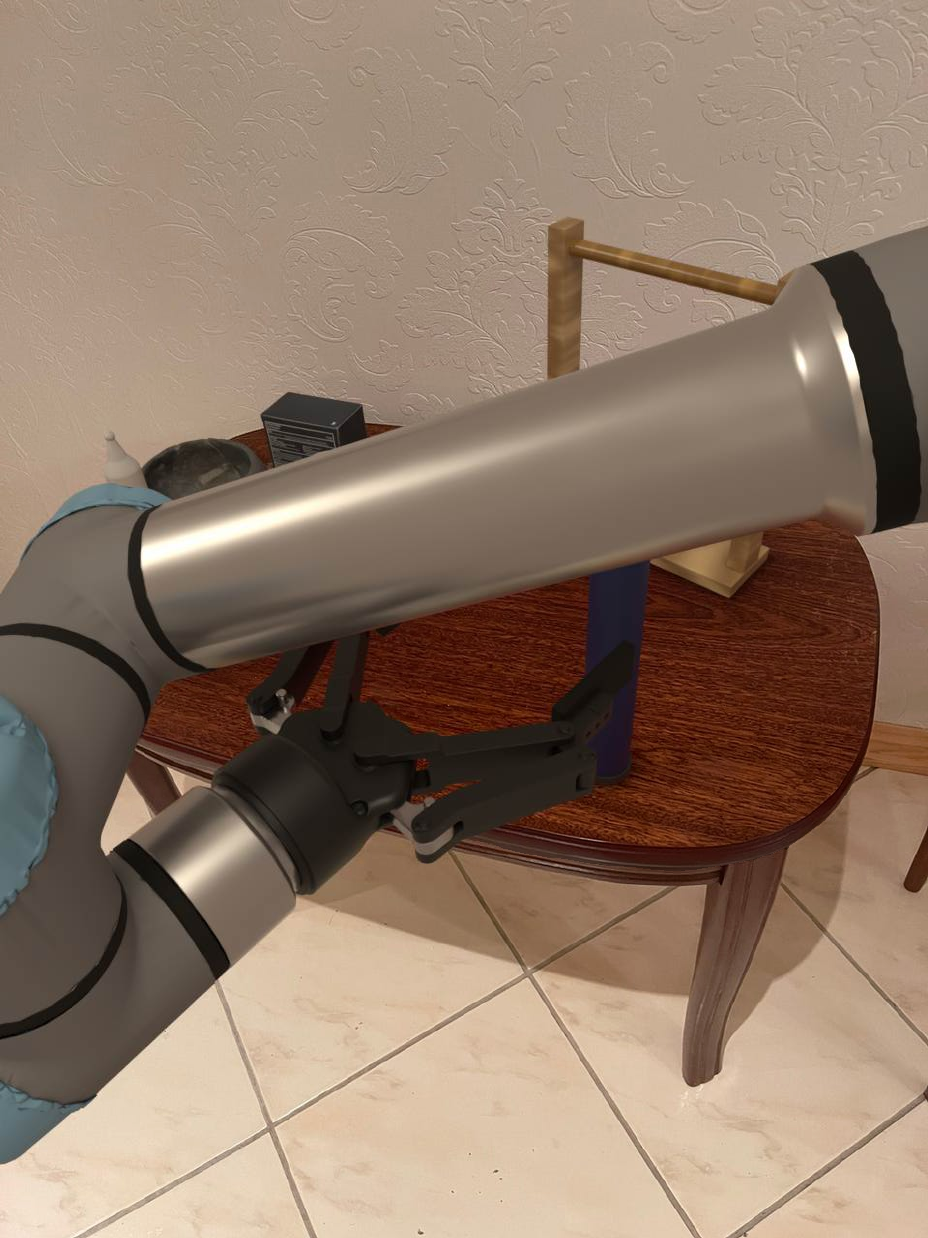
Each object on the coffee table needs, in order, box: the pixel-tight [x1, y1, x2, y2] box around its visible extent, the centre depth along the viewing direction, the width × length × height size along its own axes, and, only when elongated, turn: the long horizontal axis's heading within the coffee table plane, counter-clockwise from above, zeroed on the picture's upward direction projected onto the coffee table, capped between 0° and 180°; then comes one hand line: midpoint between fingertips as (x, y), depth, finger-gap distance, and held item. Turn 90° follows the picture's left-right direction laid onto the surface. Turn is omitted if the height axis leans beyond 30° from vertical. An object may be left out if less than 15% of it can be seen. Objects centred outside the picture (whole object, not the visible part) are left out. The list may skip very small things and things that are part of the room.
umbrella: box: [584, 560, 651, 787], centre depth 67 cm, size 10×4×26 cm, turn 138°
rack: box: [546, 216, 798, 599], centre depth 87 cm, size 25×8×31 cm, turn 48°
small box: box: [259, 391, 368, 469], centre depth 105 cm, size 11×6×10 cm, turn 66°
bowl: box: [141, 437, 268, 500], centre depth 98 cm, size 15×15×10 cm
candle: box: [103, 430, 148, 488], centre depth 79 cm, size 5×5×25 cm
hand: (533, 608), depth 53 cm, fingers open, 13 cm apart
